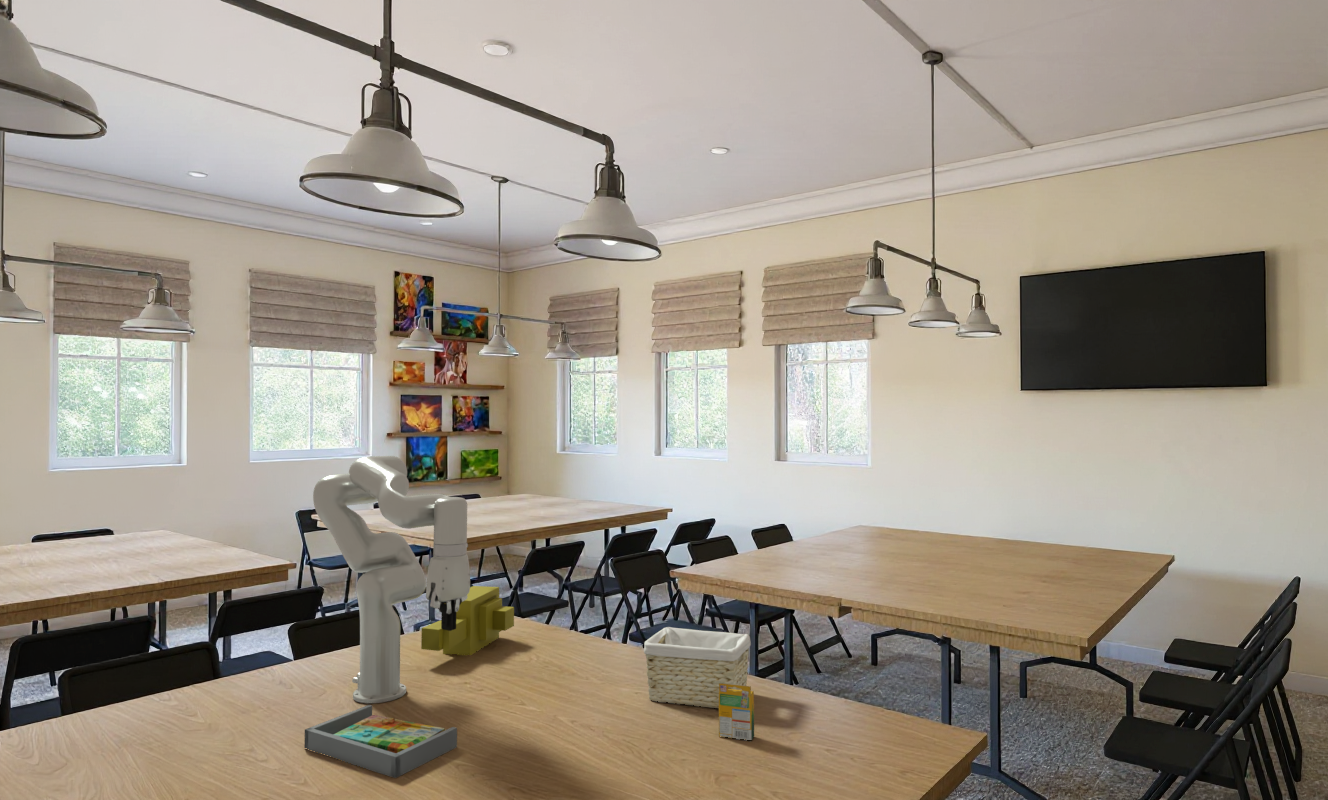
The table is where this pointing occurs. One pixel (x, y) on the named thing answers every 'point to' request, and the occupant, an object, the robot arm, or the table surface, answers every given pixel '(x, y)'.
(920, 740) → the table surface
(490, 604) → the toy blocks
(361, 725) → the puzzle game
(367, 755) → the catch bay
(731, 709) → the crayon box
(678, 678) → the storage basket
